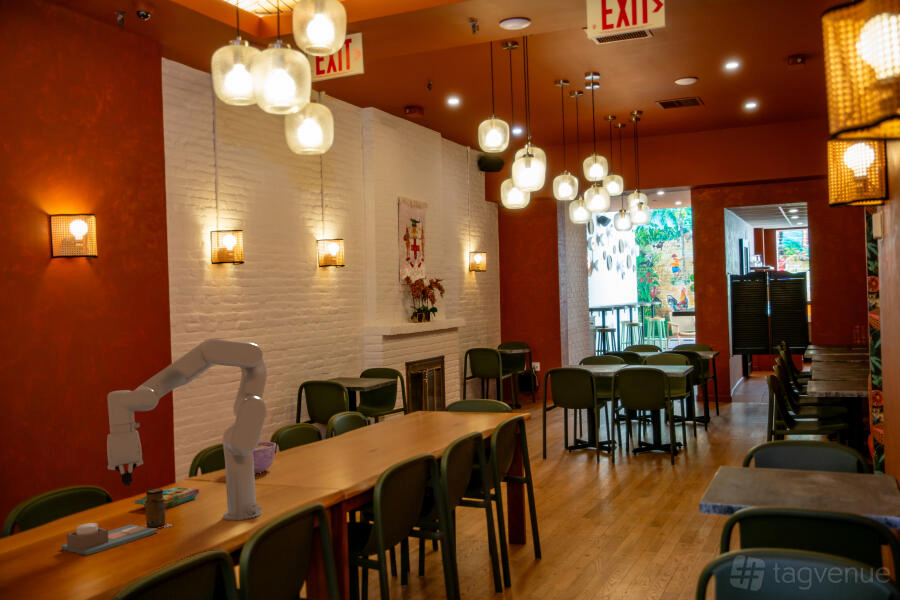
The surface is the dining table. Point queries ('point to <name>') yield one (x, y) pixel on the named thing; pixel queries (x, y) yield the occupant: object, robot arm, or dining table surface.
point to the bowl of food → (263, 456)
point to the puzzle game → (174, 496)
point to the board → (105, 539)
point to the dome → (87, 529)
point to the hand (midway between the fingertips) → (127, 484)
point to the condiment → (155, 509)
